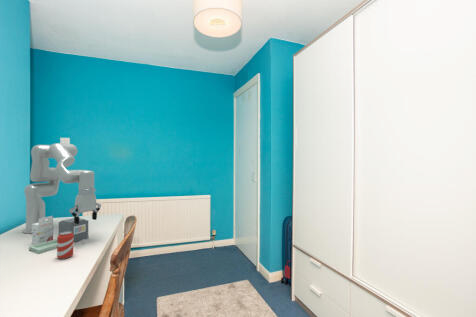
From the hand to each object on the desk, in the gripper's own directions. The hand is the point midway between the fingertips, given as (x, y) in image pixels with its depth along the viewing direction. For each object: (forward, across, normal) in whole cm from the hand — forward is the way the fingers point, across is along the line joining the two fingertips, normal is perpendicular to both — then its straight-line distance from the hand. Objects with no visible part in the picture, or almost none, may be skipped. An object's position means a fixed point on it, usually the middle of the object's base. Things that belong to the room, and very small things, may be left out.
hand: (85, 221), depth 131 cm
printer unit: (+12, 0, -12) cm, 17 cm away
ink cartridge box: (+13, +11, -22) cm, 28 cm away
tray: (+12, +13, -10) cm, 21 cm away
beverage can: (+12, +16, +11) cm, 23 cm away
